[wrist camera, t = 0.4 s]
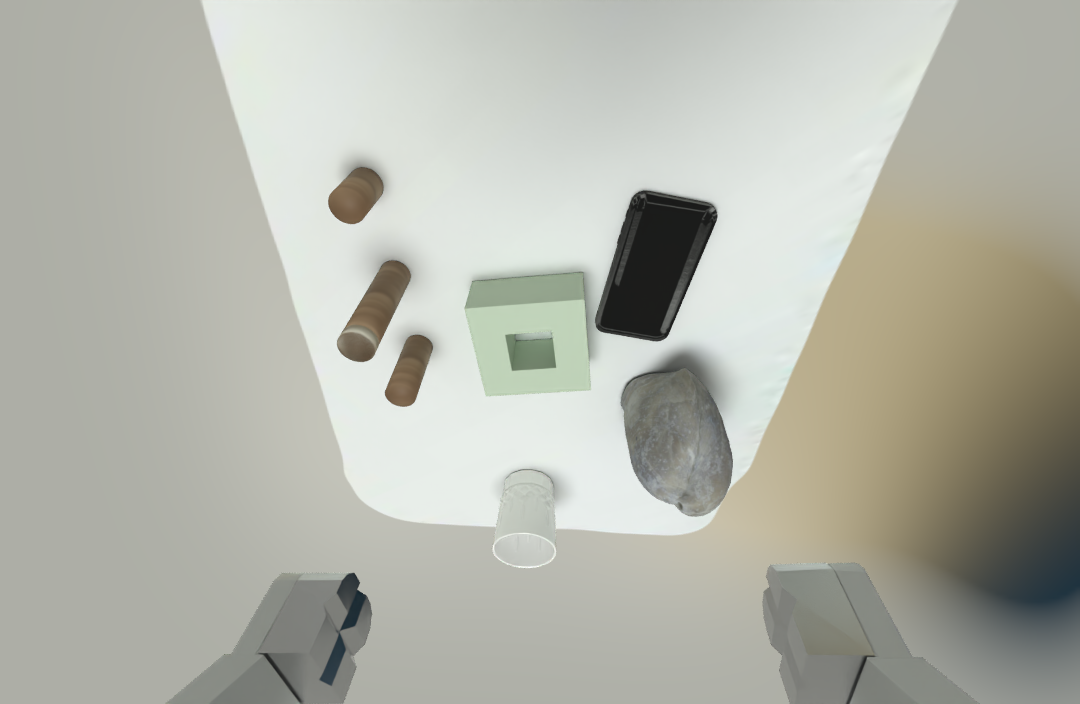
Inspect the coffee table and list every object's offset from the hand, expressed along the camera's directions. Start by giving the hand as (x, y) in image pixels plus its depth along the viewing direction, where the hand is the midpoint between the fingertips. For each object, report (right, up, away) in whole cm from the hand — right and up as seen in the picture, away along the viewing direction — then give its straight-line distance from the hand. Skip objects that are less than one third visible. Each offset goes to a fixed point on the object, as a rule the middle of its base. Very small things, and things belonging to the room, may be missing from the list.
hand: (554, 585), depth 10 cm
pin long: (-15, +12, +40) cm, 44 cm away
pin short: (-16, +19, +35) cm, 43 cm away
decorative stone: (+14, -1, +49) cm, 51 cm away
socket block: (-1, +8, +43) cm, 44 cm away
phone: (+10, +13, +39) cm, 43 cm away
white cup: (-2, -14, +60) cm, 62 cm away
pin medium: (-14, +5, +46) cm, 48 cm away
